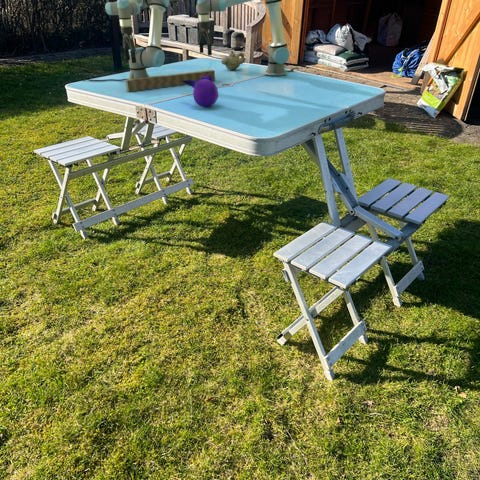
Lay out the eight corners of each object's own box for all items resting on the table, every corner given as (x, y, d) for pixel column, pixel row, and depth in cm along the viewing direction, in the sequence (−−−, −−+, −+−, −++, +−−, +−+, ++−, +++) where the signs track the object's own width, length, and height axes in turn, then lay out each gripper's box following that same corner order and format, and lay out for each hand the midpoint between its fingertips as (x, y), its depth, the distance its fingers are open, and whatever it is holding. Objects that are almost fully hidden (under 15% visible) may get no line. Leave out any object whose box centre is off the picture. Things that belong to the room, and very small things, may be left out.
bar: (128, 92, 307) (127, 80, 303) (126, 90, 310) (125, 79, 307) (215, 81, 334) (214, 70, 330) (212, 80, 338) (211, 69, 334)
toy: (206, 98, 286) (218, 113, 265) (179, 93, 279) (189, 108, 258) (211, 72, 278) (224, 86, 257) (184, 67, 271) (195, 81, 250)
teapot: (225, 72, 364) (224, 52, 356) (218, 70, 372) (217, 50, 365) (247, 69, 373) (247, 50, 365) (240, 67, 381) (240, 48, 374)
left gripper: (138, 27, 282) (142, 63, 293) (126, 24, 301) (130, 58, 312) (126, 28, 279) (131, 64, 290) (115, 25, 298) (120, 59, 309)
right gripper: (216, 22, 305) (218, 55, 316) (201, 20, 324) (203, 51, 335) (206, 22, 302) (208, 56, 313) (191, 20, 321) (193, 52, 332)
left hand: (131, 61), depth 301 cm, fingers open, 13 cm apart
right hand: (205, 54), depth 324 cm, fingers open, 13 cm apart
